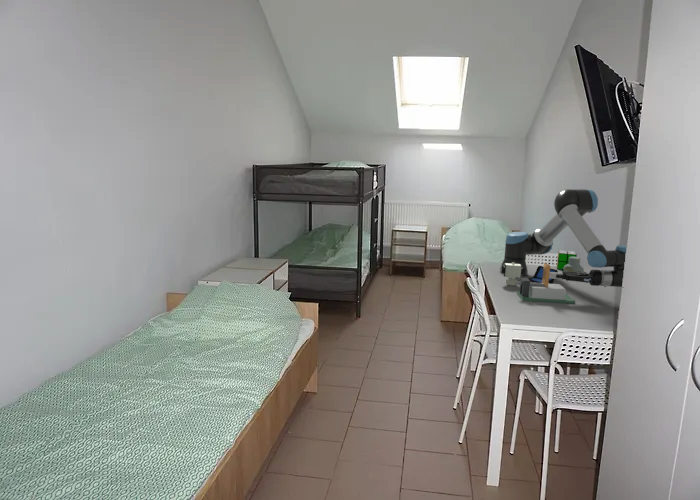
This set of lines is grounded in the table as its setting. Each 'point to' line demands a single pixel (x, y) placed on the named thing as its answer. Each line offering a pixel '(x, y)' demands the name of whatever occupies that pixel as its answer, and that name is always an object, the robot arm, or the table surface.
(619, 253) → the robot arm
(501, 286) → the table surface
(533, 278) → the handheld game console
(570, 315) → the table surface
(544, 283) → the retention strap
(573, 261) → the air freshener
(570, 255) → the puzzle cube
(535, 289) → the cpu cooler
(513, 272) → the pneumatic valve
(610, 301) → the table surface
